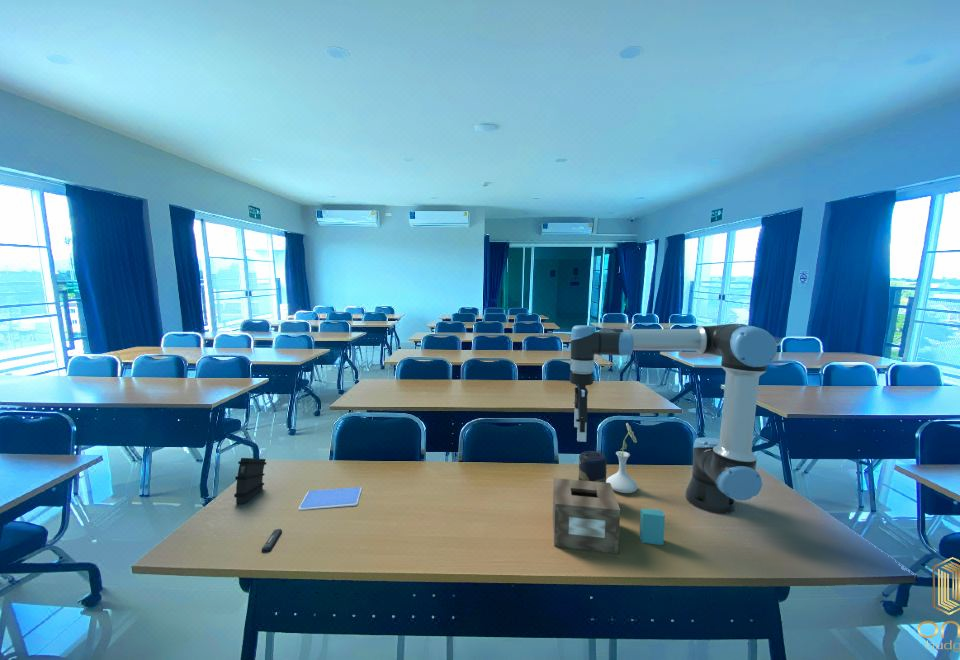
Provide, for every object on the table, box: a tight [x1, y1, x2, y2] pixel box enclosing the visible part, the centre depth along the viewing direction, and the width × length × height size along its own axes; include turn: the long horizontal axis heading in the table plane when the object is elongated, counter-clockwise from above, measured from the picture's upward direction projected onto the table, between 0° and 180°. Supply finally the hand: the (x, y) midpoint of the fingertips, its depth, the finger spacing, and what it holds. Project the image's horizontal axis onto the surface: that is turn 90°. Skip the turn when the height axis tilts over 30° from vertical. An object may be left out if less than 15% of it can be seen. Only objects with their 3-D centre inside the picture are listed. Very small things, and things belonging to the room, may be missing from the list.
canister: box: [578, 450, 607, 483], centre depth 135 cm, size 10×10×18 cm
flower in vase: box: [606, 422, 638, 494], centre depth 144 cm, size 13×11×25 cm
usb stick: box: [261, 528, 283, 553], centre depth 111 cm, size 10×3×2 cm, turn 8°
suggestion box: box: [552, 477, 621, 555], centre depth 116 cm, size 18×16×13 cm
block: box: [638, 508, 666, 546], centre depth 113 cm, size 6×3×9 cm, turn 80°
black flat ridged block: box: [233, 457, 267, 505], centre depth 136 cm, size 4×13×15 cm, turn 179°
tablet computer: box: [298, 486, 363, 511], centre depth 135 cm, size 19×13×1 cm, turn 100°
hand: (579, 433), depth 127 cm, fingers open, 13 cm apart
